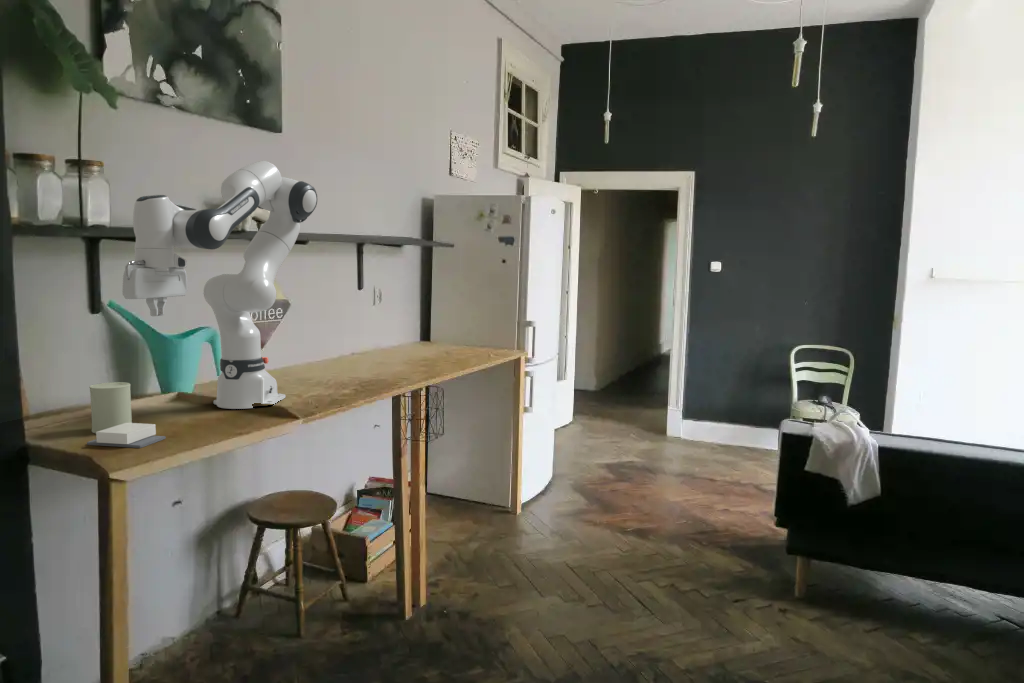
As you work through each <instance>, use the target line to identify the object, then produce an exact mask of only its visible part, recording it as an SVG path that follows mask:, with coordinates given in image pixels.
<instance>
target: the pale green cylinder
mask: <svg viewBox="0 0 1024 683" xmlns="http://www.w3.org/2000/svg"><path fill="white" fill-rule="evenodd" d="M89 392H90V393H89V394H90V407H91V408H90V410H91V411H90V413H91V433H92V434H96V432H98V431H101V430H104V429H107V428H111V427H114V426H117V425H120V424H124V423H133V421H132V420H133V419H132V418H133V417H132V415H133V414H132V401H131V400H132V397H131V383H130V382H123V381H121V382H118V381H115V382H111V381H110V382H103V383H96V384H91V385H89Z"/></svg>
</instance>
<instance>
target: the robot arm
mask: <svg viewBox="0 0 1024 683" xmlns="http://www.w3.org/2000/svg"><path fill="white" fill-rule="evenodd" d="M220 192H221V193H220V194H221V196H222V200H223V201H224V202H223V203H222V204H221V205H220V206H219V207H217V208H206V209H194V210H189V209H188V210H185V209H183V208H182V207H181V206H180V207H179V206H178V205H176V204H175V203H174V202H173V201H171V200H170V198H169V196H168V195H166V194H165V195H164V194H154V195H144V196H139V197H138V198H136V200H135V202H134V205H133V215H132V217H133V218H132V220H133V222H132V223H133V226H132V227H133V233H134V236H135V244H134V259H133V260H129V261H128V262H127V263H126V265H125V266H124V271H123V276H122V296H123V298H124V299H126V300H144V299H145V302H146V305H147V307H148V308H149V313H150V317H161V316H162V317H163V316H165V307H166V305H167V303H168V298H171V297H172V298H173V297H175V298H176V297H185V296H186V294H187V292H188V273H187V271H186V268H187V266H188V261H187V260H186V258H183V257H182V256H180V255H178V254H177V253H175V248H177V249H204V250H217V249H219V248H221V247H222V246H223V245H224V244H225V243H226V242H227V240H228V238H229V237H230V234H231V233H232V232H233V230H235V228H236V227H237V226H238V225H240V224H242V222H243V221H245V220H247V218H249V216H251V215H252V214H253V213H254V212H255V211H256V210H257V208H258V209H260V210H266V211H268V212H269V215H268V219H267V220H266V221H265V222H264V223H263V224H262V225H261V227H260V228H259V229H258V230H257V232H256V233H255V234H254V236H253V237H252V239H251V241H250V242H249V244H248V245H247V247H246V248H245V250H244V251H243V258H244V261H245V262H244V266H243V267H242V270H240V272H239V273H237V274H232V273H231V274H230V273H226V274H225V273H223V274H219V275H216V276H213V277H211V278H209V279H208V280H206V282H205V283H204V284H205V285H204V287H203V297H204V300H205V301H206V303H207V304H208V305H209V306H210V307H211V309H212V312H213V314H214V315H215V319H216V322H217V325H218V329H219V336H220V349H221V350H220V352H221V353H220V354H221V358H220V360H219V367H220V369H219V370H220V372H221V373H220V375H219V376H218V377H217V387H216V388H217V389H216V399H213V404H214V405H216V407H218V408H221V409H229V410H230V409H231V410H236V409H237V410H238V409H239V410H240V409H241V410H242V409H243V410H244V409H245V410H246V409H254V408H253V406H252V404H254V403H261V404H274V405H276V404H278V403H279V402H280V400H281V401H282V400H284V399H285V398H286V394H285V393H278V383H277V380H276V378H274V377H273V376H272V375H271V374H270V373H269V372H268V371H267V370H266V366H265V364H266V365H267V364H268V363H269V357H268V356H265V357H264V356H262V345H261V344H262V342H261V340H262V339H261V332H260V329H259V328H258V327H257V326H256V324H255V323H254V322H253V319H252V317H251V313H252V314H253V313H259V312H262V311H267V310H269V309H271V307H273V306H274V304H275V303H276V300H277V289H276V286H275V279H276V276H277V273H278V272H279V270H280V268H281V267H282V265H283V263H284V262H285V260H286V259H287V257H288V256H289V254H290V253H291V251H292V248H294V245H296V244H295V243H296V241H297V239H298V236H299V234H300V231H301V223H304V221H306V220H307V219H308V218H309V217H310V216H311V215H312V214H313V212H314V211H315V210H316V208H317V204H318V194H317V193H318V192H317V191H316V189H315V187H314V186H313V185H311V183H310V184H309V183H307V182H306V181H303V180H302V181H300V180H296V179H294V178H291V177H286V176H282V173H281V172H280V170H279V169H278V167H277V166H276V165H275V164H273V163H272V162H271V161H270V162H269V161H268V160H261V161H256V162H252V163H250V164H246V165H245V166H243V167H241V168H240V169H238V170H236V171H234V172H233V173H231V174H230V175H228V176H227V177H226V178H225V179H224V180H223V181H222V183H221V187H220ZM278 401H279V402H278ZM277 402H278V403H277ZM275 403H276V404H275Z"/></svg>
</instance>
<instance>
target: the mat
mask: <svg viewBox="0 0 1024 683" xmlns="http://www.w3.org/2000/svg"><path fill="white" fill-rule="evenodd" d="M163 440H166V436H165V435H153V436H150V437H147V438H144V439H141V440H138V441H136V442H133V443H130V444H113V443H97V438H96V439H92V440H89V441H87V442H86V445H87V446H104V447H115V448H116V447H118V448H119V447H121V448H134V449H135V448H136V449H141V448H144V447H147V446H151V445H153V444H155V443H158V442H161V441H163Z"/></svg>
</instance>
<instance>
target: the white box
mask: <svg viewBox="0 0 1024 683" xmlns="http://www.w3.org/2000/svg"><path fill="white" fill-rule="evenodd" d="M156 435H157V429H156V424H155V423H141V422H139V423H138V422H132V423H124V424H120V425H117V426H114V427H111V428H107V429H104V430H101V431H98V432H96V433H95V436H96V439H97V443H113V444H130V443H133V442H136V441H138V440H141V439H144V438H147V437H150V436H156Z"/></svg>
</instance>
